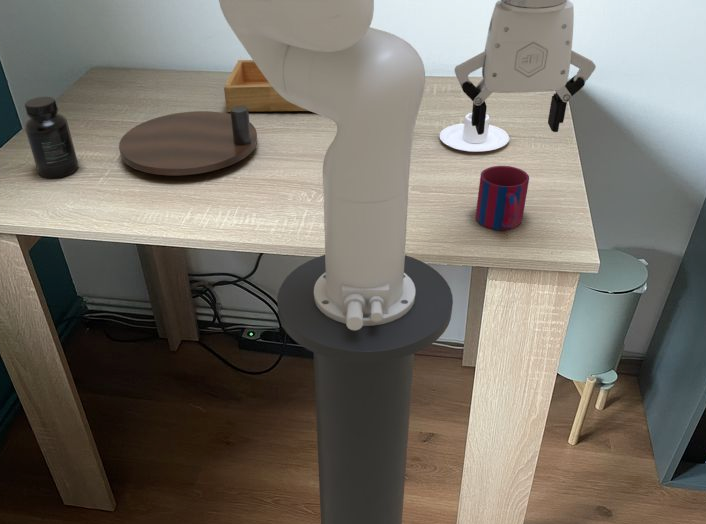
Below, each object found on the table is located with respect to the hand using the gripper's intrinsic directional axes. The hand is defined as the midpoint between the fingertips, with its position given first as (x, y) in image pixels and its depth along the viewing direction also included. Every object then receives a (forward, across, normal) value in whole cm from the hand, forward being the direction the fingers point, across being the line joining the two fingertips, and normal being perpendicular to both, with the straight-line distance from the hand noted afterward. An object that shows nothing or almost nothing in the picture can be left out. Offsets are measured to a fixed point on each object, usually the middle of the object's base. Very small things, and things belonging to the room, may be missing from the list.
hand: (515, 129), depth 97 cm
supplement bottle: (+14, -72, +20) cm, 76 cm away
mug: (+14, 0, -1) cm, 14 cm away
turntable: (+12, -50, +26) cm, 58 cm away
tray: (+15, -30, +50) cm, 60 cm away
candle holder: (+15, 0, +28) cm, 32 cm away
